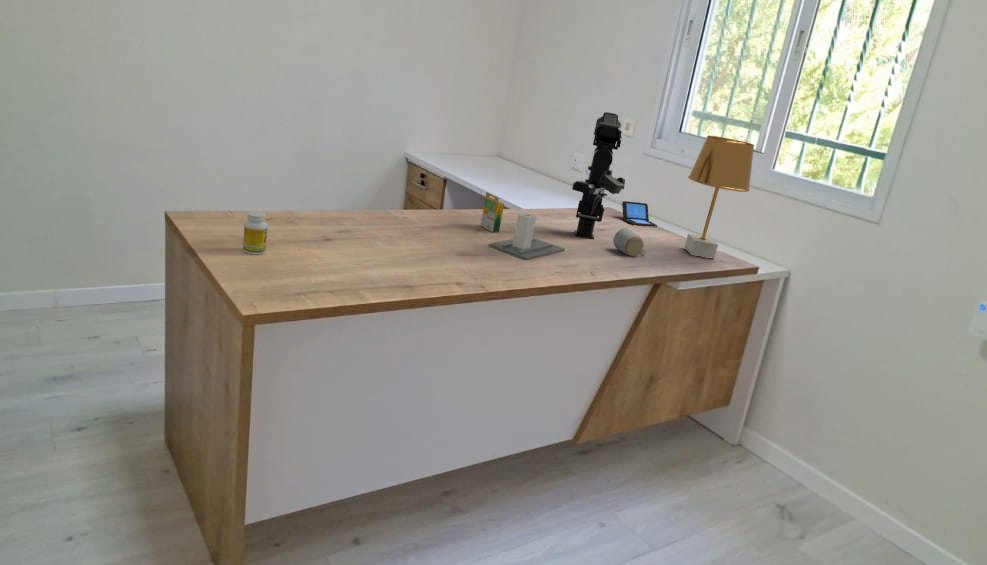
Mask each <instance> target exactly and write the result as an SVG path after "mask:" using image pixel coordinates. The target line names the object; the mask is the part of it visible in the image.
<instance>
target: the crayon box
mask: <svg viewBox="0 0 987 565" xmlns="http://www.w3.org/2000/svg"><path fill="white" fill-rule="evenodd" d="M485 193H486V194H485V200H484V204H483V209H482V215H481V221H480V226H481V227H482V228H484V229H486V230H487V231H490V232H491V233H500V228H501V223H502V218H503V213H504V207H505V202H504V203H503V202H502V201H499V197H497V196H496V195H494V194H492V193H490V192H487V191H486V192H485Z"/></svg>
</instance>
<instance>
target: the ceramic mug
mask: <svg viewBox="0 0 987 565" xmlns="http://www.w3.org/2000/svg"><path fill="white" fill-rule="evenodd" d="M613 246H614V247H615V248H616V249H617V250H619V251H620V252H622V253H624V255H626V256H629V257H635V256H636V257H637V256H638V255H639V254H640V255H642V256H645V255H646V254H647V251H646V250H644V249H643V248H644V241H643V238H642V237H640V235H639V234H636V232H634V231H633V230H632V229H630V228H628V227H623V228H621V229H619V230H618V231H617V232H615V235H614V236H613Z"/></svg>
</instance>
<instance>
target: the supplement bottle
mask: <svg viewBox="0 0 987 565" xmlns="http://www.w3.org/2000/svg"><path fill="white" fill-rule="evenodd" d="M246 218H247V220H246V221H245V222H244V223H243V235H242V236H243V237H242V252H244V253H246V254H248V255H251V256H253V255H254V256H256V255H257V256H258V255H259V256H260V255H263V254H265V253H266V252H267V251H266V250H267V237H268V224H267V222H266V221H265V220H266V214H265V213H264V212H262V211H249V212H248V213H247V217H246Z"/></svg>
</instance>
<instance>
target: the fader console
mask: <svg viewBox="0 0 987 565" xmlns="http://www.w3.org/2000/svg"><path fill="white" fill-rule="evenodd" d="M513 239H514V238H513ZM513 239H508V240H500V241H497V242H493V243H489V244H488V245H487V246H488V247H491V248H493V249H496V250H498V251H501V252H503V253H506V254H509V255H511V256H514V257H517V258H519V259H523V260H524V261H527V260H528V261H529V260H533V259H536V258H540V257H544V256H548V255H551V254H556V253H560V252H564V251H565V250H566V249H565V248H563V247H561V246H557V245H555V244H552V243H549V242H547V241H544V240H541V239H539V238H535V237H534V236H532V241H531V246H530V248H528V249H520V248H517V247H514V246H512V244H513Z"/></svg>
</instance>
